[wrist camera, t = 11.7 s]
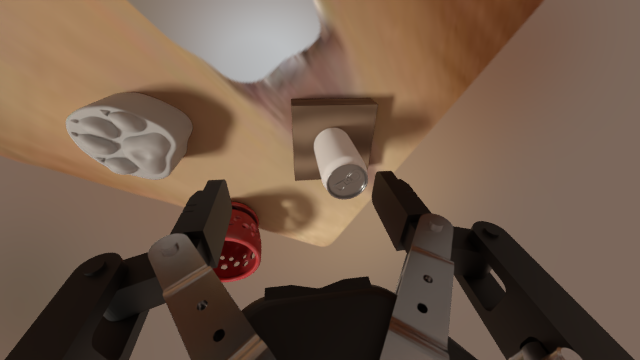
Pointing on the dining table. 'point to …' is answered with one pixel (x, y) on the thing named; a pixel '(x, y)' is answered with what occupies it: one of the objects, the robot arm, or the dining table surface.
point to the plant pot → (240, 245)
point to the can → (340, 164)
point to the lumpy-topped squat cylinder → (132, 134)
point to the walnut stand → (325, 114)
